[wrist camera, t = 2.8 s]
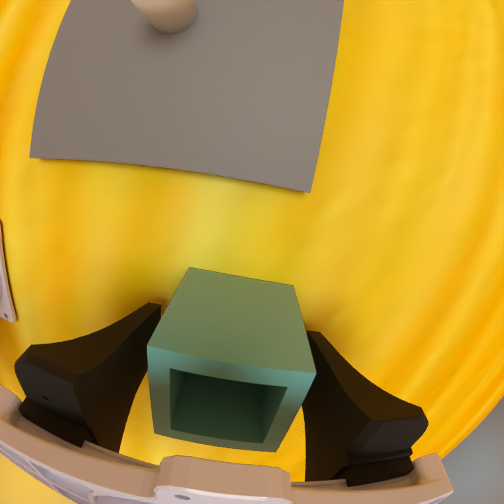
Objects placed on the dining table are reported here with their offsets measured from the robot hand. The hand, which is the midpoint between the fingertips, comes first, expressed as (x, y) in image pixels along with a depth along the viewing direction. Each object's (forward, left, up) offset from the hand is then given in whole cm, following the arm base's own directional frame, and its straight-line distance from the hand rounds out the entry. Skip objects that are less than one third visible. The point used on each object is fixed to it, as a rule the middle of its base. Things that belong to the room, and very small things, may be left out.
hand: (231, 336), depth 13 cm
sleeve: (0, 0, -1) cm, 1 cm away
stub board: (-5, +14, -1) cm, 15 cm away
